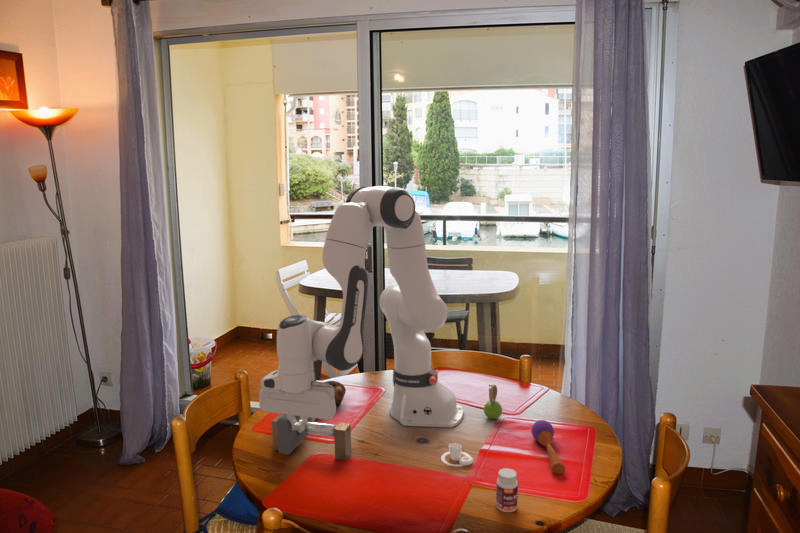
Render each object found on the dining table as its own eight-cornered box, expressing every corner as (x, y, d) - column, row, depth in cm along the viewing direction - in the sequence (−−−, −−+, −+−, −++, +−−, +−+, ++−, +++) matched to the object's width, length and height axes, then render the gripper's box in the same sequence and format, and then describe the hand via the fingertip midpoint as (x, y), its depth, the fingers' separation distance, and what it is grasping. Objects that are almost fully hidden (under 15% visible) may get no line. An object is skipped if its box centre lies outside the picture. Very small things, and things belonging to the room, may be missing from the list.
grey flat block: (312, 429, 164) (310, 399, 163) (289, 454, 151) (287, 422, 150) (302, 428, 165) (300, 398, 164) (278, 452, 152) (276, 420, 150)
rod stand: (351, 453, 156) (350, 423, 155) (345, 460, 153) (344, 430, 151) (280, 443, 162) (278, 414, 161) (273, 450, 159) (271, 420, 157)
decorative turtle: (307, 414, 180) (305, 389, 179) (324, 397, 194) (323, 374, 193) (336, 415, 177) (335, 390, 176) (352, 398, 192) (350, 375, 191)
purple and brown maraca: (544, 460, 144) (528, 418, 164) (547, 481, 146) (531, 436, 165) (568, 456, 144) (549, 414, 163) (571, 477, 145) (552, 433, 165)
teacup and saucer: (477, 466, 150) (477, 452, 149) (448, 472, 148) (448, 457, 147) (464, 450, 158) (464, 436, 157) (436, 455, 156) (436, 440, 155)
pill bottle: (504, 515, 129) (504, 480, 128) (491, 503, 133) (492, 470, 132) (521, 509, 131) (522, 475, 130) (509, 498, 135) (509, 465, 134)
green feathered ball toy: (480, 422, 173) (481, 383, 171) (486, 413, 179) (486, 376, 177) (499, 424, 171) (499, 386, 169) (503, 415, 177) (504, 378, 175)
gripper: (339, 378, 149) (340, 429, 151) (266, 371, 154) (269, 420, 157) (329, 388, 143) (331, 440, 145) (254, 380, 148) (257, 430, 151)
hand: (298, 430), depth 151 cm, fingers closed
